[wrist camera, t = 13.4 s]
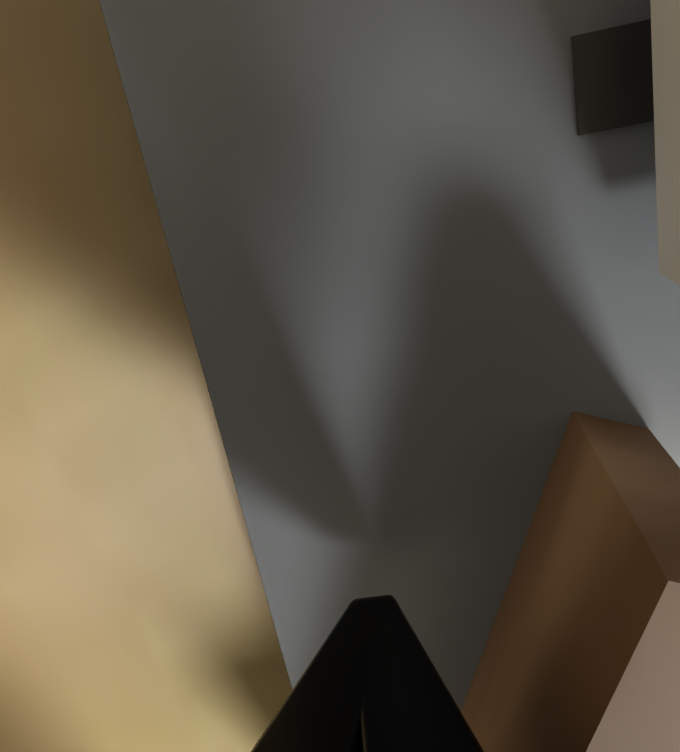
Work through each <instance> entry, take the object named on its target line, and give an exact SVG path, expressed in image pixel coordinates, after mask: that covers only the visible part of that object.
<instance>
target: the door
mask: <svg viewBox="0 0 680 752" xmlns="http://www.w3.org/2000/svg"><path fill="white" fill-rule="evenodd" d="M461 713H462V714H463V716H464V718H465V720H466V721H467V723H468V725H469V726H470V728H471V730H472V732H473V733H474V735H475V737H476V738H477V740H478V742H479V744H480V745H481V747H482V749H483V751H484V752H680V468H679V466H678V465H677V464H676V463H675V461H674V460H673V459H672V457H671V456H670V455H669V454H668V452H667V451H666V450H665V449H664V447H663V446H662V445H661V444H660V442H659V441H658V440H657V438H656V437H655V436H654V435H653V433H652V432H651V431H650V430H649V429H648V428H644V427H640V426H635V425H631V424H626V423H622V422H618V421H613V420H609V419H605V418H600V417H596V416H592V415H587V414H583V413H578V412H574V411H572V413H571V416H570V419H569V421H568V424H567V427H566V429H565V432H564V435H563V438H562V440H561V443H560V446H559V448H558V451H557V454H556V456H555V459H554V462H553V464H552V467H551V470H550V473H549V475H548V478H547V481H546V483H545V486H544V489H543V491H542V494H541V497H540V499H539V502H538V505H537V508H536V510H535V513H534V516H533V518H532V521H531V524H530V526H529V529H528V532H527V535H526V537H525V540H524V543H523V545H522V548H521V551H520V553H519V556H518V559H517V561H516V564H515V567H514V570H513V572H512V575H511V578H510V580H509V583H508V586H507V588H506V591H505V594H504V596H503V599H502V602H501V605H500V607H499V610H498V613H497V615H496V618H495V621H494V623H493V626H492V629H491V631H490V634H489V637H488V640H487V642H486V645H485V648H484V650H483V653H482V656H481V658H480V661H479V664H478V666H477V669H476V672H475V675H474V677H473V680H472V683H471V685H470V688H469V691H468V693H467V696H466V699H465V701H464V704H463V707H462V710H461Z"/></svg>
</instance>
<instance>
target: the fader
mask: <svg viewBox="0 0 680 752" xmlns="http://www.w3.org/2000/svg"><path fill="white" fill-rule="evenodd" d="M650 7H651V39H652V71H653V103H654V134H655V166H656V198H657V230H658V262H659V274H661V275H663V276H664V277H666V278H668V279H669V280H671V281H673V282H675V283H676V284H678V285H680V0H650Z"/></svg>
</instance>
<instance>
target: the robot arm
mask: <svg viewBox="0 0 680 752" xmlns="http://www.w3.org/2000/svg"><path fill="white" fill-rule="evenodd" d="M251 752H484V751H483V749H482V747H481V745H480V744H479V742H478V740H477V738H476V737H475V735H474V733H473V732H472V730H471V728H470V726H469V725H468V723H467V721H466V720H465V718H464V716H463V714H462V713H461V711H460V709H459V708H458V706H457V704H456V702H455V701H454V699H453V697H452V695H451V694H450V692H449V690H448V689H447V687H446V685H445V683H444V682H443V680H442V678H441V677H440V675H439V673H438V671H437V670H436V668H435V666H434V665H433V663H432V661H431V659H430V658H429V656H428V654H427V653H426V651H425V649H424V647H423V646H422V644H421V642H420V640H419V639H418V637H417V635H416V634H415V632H414V630H413V628H412V627H411V625H410V623H409V622H408V620H407V618H406V616H405V615H404V613H403V611H402V610H401V608H400V606H399V604H398V603H397V601H396V599H395V598H394V597H393V596H392V595H381V596H373V597H365V598H357V599H354V600H353V601H351V602H350V604H349V605H348V607H347V608H346V610H345V611H344V613H343V614H342V616H341V617H340V619H339V620H338V622H337V623H336V625H335V626H334V628H333V629H332V631H331V632H330V634H329V635H328V637H327V638H326V640H325V641H324V643H323V644H322V646H321V647H320V649H319V650H318V652H317V653H316V655H315V656H314V658H313V659H312V661H311V662H310V664H309V665H308V667H307V668H306V670H305V671H304V673H303V674H302V676H301V677H300V679H299V680H298V682H297V683H296V685H295V686H294V688H293V689H292V691H291V692H290V694H289V695H288V697H287V698H286V700H285V701H284V703H283V704H282V706H281V707H280V709H279V710H278V712H277V713H276V715H275V716H274V718H273V719H272V721H271V722H270V724H269V725H268V727H267V728H266V730H265V731H264V733H263V734H262V736H261V737H260V739H259V740H258V742H257V743H256V745H255V746H254V748H253V749H252V751H251Z"/></svg>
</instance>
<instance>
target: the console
mask: <svg viewBox="0 0 680 752" xmlns="http://www.w3.org/2000/svg"><path fill="white" fill-rule="evenodd" d="M99 2H100V6H101V9H102V13H103V16H104V20H105V23H106V27H107V30H108V34H109V38H110V41H111V45H112V48H113V52H114V55H115V59H116V63H117V66H118V70H119V73H120V77H121V80H122V84H123V88H124V91H125V95H126V98H127V102H128V105H129V109H130V112H131V116H132V120H133V123H134V127H135V130H136V134H137V137H138V141H139V145H140V148H141V152H142V155H143V159H144V162H145V166H146V170H147V173H148V177H149V180H150V184H151V187H152V191H153V194H154V198H155V202H156V205H157V209H158V212H159V216H160V219H161V223H162V227H163V230H164V234H165V237H166V241H167V244H168V248H169V252H170V255H171V259H172V262H173V266H174V269H175V273H176V276H177V280H178V284H179V287H180V291H181V294H182V298H183V301H184V305H185V309H186V312H187V316H188V319H189V323H190V326H191V330H192V334H193V337H194V341H195V344H196V348H197V351H198V355H199V358H200V362H201V366H202V369H203V373H204V376H205V380H206V383H207V387H208V391H209V394H210V398H211V401H212V405H213V408H214V412H215V416H216V419H217V423H218V426H219V430H220V433H221V437H222V440H223V444H224V448H225V451H226V455H227V458H228V462H229V465H230V469H231V473H232V476H233V480H234V483H235V487H236V490H237V494H238V498H239V501H240V505H241V508H242V512H243V515H244V519H245V522H246V526H247V530H248V533H249V537H250V540H251V544H252V547H253V551H254V555H255V558H256V562H257V565H258V569H259V572H260V576H261V580H262V583H263V587H264V590H265V594H266V597H267V601H268V604H269V608H270V612H271V615H272V619H273V622H274V626H275V629H276V633H277V637H278V640H279V644H280V647H281V651H282V654H283V658H284V662H285V665H286V669H287V672H288V676H289V679H290V683H291V686H292V689H293V688H294V686H295V685H296V683H297V682H298V680H299V679H300V677H301V676H302V674H303V673H304V671H305V670H306V668H307V667H308V665H309V664H310V662H311V661H312V659H313V658H314V656H315V655H316V653H317V652H318V650H319V649H320V647H321V646H322V644H323V643H324V641H325V640H326V638H327V637H328V635H329V634H330V632H331V631H332V629H333V628H334V626H335V625H336V623H337V622H338V620H339V619H340V617H341V616H342V614H343V613H344V611H345V610H346V608H347V607H348V605H349V604H350V602H351V601H353V600H354V599H357V598H365V597H373V596H381V595H392V596H393V597H394V598H395V599H396V601H397V603H398V604H399V606H400V608H401V610H402V611H403V613H404V615H405V616H406V618H407V620H408V622H409V623H410V625H411V627H412V628H413V630H414V632H415V634H416V635H417V637H418V639H419V640H420V642H421V644H422V646H423V647H424V649H425V651H426V653H427V654H428V656H429V658H430V659H431V661H432V663H433V665H434V666H435V668H436V670H437V671H438V673H439V675H440V677H441V678H442V680H443V682H444V683H445V685H446V687H447V689H448V690H449V692H450V694H451V695H452V697H453V699H454V701H455V702H456V704H457V706H458V708H459V709H460V711H461V710H462V707H463V704H464V701H465V699H466V696H467V693H468V691H469V688H470V685H471V683H472V680H473V677H474V675H475V672H476V669H477V666H478V664H479V661H480V658H481V656H482V653H483V650H484V648H485V645H486V642H487V640H488V637H489V634H490V631H491V629H492V626H493V623H494V621H495V618H496V615H497V613H498V610H499V607H500V605H501V602H502V599H503V596H504V594H505V591H506V588H507V586H508V583H509V580H510V578H511V575H512V572H513V570H514V567H515V564H516V561H517V559H518V556H519V553H520V551H521V548H522V545H523V543H524V540H525V537H526V535H527V532H528V529H529V526H530V524H531V521H532V518H533V516H534V513H535V510H536V508H537V505H538V502H539V499H540V497H541V494H542V491H543V489H544V486H545V483H546V481H547V478H548V475H549V473H550V470H551V467H552V464H553V462H554V459H555V456H556V454H557V451H558V448H559V446H560V443H561V440H562V438H563V435H564V432H565V429H566V427H567V424H568V421H569V419H570V416H571V413H572V411H574V412H578V413H583V414H587V415H592V416H596V417H600V418H605V419H609V420H613V421H618V422H622V423H626V424H631V425H635V426H640V427H644V428H648V429H649V430H650V431H651V432H652V433H653V435H654V436H655V437H656V438H657V440H658V441H659V442H660V444H661V445H662V446H663V447H664V449H665V450H666V451H667V452H668V454H669V455H670V456H671V457H672V459H673V460H674V461H675V463H676V464H677V465H678V466H679V468H680V285H678V284H676V283H675V282H673V281H671V280H669V279H668V278H666V277H664V276H663V275H661V274H659V262H658V230H657V198H656V166H655V134H654V103H653V71H652V39H651V7H650V0H99Z"/></svg>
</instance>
